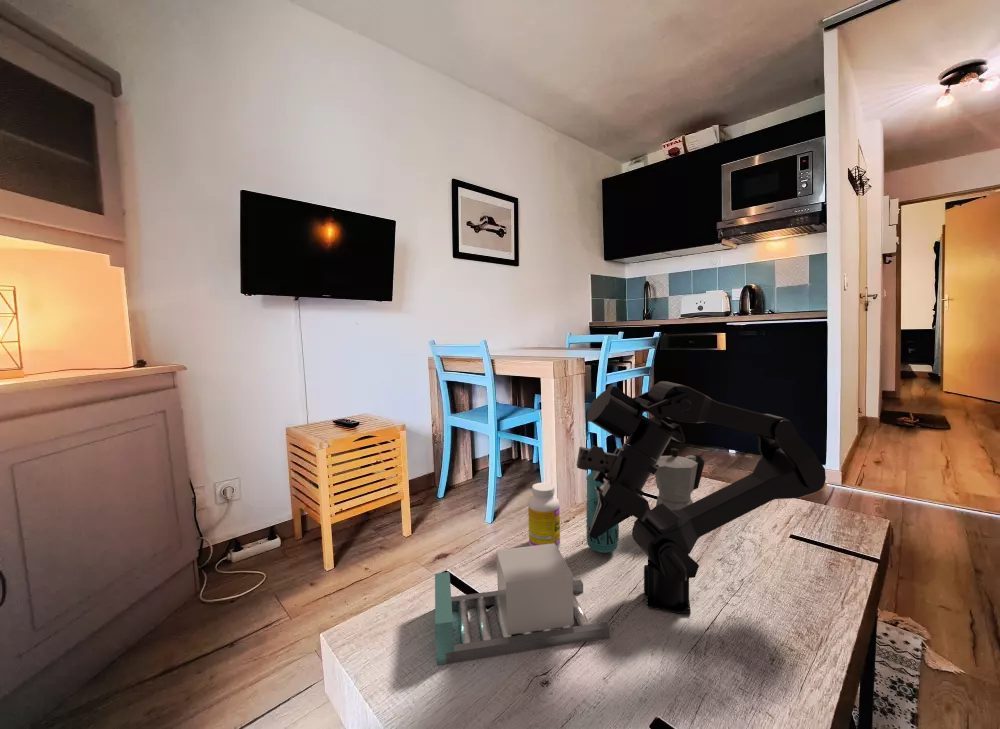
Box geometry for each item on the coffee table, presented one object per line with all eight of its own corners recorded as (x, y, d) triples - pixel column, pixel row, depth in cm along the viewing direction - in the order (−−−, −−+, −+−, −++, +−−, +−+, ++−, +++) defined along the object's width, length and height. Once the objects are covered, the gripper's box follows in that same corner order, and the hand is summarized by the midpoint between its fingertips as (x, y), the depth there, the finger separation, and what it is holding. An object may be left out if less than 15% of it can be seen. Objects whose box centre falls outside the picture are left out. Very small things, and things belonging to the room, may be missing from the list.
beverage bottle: (582, 544, 87) (580, 452, 85) (613, 542, 87) (611, 450, 86) (592, 561, 80) (590, 462, 79) (624, 559, 81) (623, 460, 79)
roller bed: (436, 608, 68) (434, 573, 68) (580, 588, 72) (580, 555, 72) (437, 665, 56) (435, 624, 56) (609, 637, 60) (609, 599, 60)
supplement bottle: (559, 554, 83) (558, 493, 82) (527, 552, 84) (525, 491, 83) (561, 538, 90) (559, 481, 89) (531, 536, 91) (529, 480, 90)
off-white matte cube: (555, 588, 70) (554, 543, 69) (573, 625, 61) (572, 573, 60) (498, 596, 68) (496, 550, 68) (507, 635, 59) (505, 582, 59)
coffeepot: (668, 541, 87) (668, 458, 85) (637, 522, 96) (637, 447, 94) (720, 526, 93) (721, 448, 91) (687, 509, 101) (687, 438, 100)
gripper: (591, 424, 76) (549, 497, 76) (602, 427, 58) (546, 523, 57) (645, 456, 74) (602, 531, 74) (674, 470, 56) (617, 570, 55)
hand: (591, 536), depth 65 cm, fingers closed
